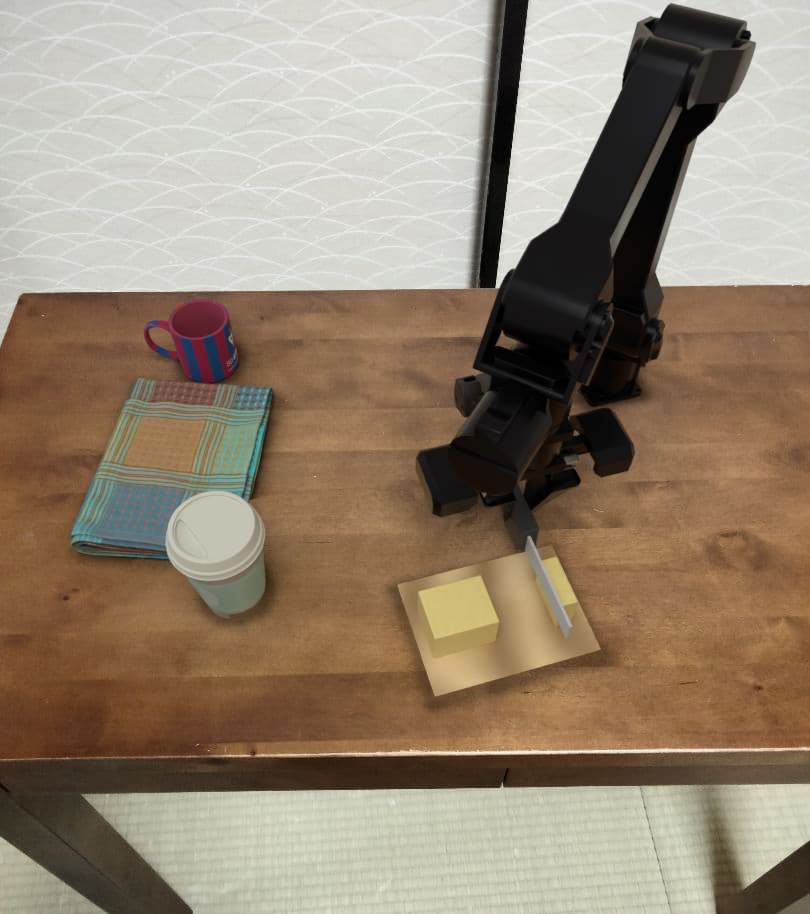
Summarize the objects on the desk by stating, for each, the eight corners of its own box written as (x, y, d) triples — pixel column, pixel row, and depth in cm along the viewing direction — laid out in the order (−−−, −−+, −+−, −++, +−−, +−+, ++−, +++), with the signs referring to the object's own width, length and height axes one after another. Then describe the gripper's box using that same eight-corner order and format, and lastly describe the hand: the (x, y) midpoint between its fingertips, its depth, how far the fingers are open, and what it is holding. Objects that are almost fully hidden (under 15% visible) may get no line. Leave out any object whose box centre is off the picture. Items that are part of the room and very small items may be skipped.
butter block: (477, 596, 78) (480, 574, 74) (495, 641, 75) (499, 621, 72) (417, 612, 77) (417, 591, 73) (433, 659, 74) (434, 639, 71)
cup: (231, 386, 95) (220, 342, 89) (148, 379, 95) (131, 334, 90) (244, 346, 98) (234, 301, 93) (164, 339, 99) (149, 294, 93)
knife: (509, 491, 82) (513, 472, 79) (577, 635, 73) (583, 619, 70) (491, 495, 82) (493, 477, 79) (556, 641, 72) (561, 625, 70)
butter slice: (550, 578, 79) (556, 556, 75) (570, 622, 76) (578, 601, 73) (534, 582, 78) (540, 560, 75) (554, 627, 76) (561, 606, 72)
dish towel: (69, 556, 82) (60, 542, 80) (133, 386, 95) (127, 370, 93) (237, 569, 81) (232, 556, 79) (279, 396, 94) (276, 380, 92)
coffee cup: (194, 559, 82) (164, 489, 71) (279, 552, 82) (261, 481, 72) (190, 636, 77) (156, 573, 67) (280, 629, 77) (261, 565, 67)
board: (549, 552, 82) (551, 544, 81) (598, 656, 76) (601, 649, 74) (397, 592, 80) (396, 584, 78) (434, 703, 73) (434, 696, 72)
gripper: (600, 315, 72) (571, 432, 85) (396, 359, 69) (398, 473, 82) (657, 406, 66) (616, 517, 79) (437, 458, 63) (432, 564, 76)
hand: (514, 514), depth 79 cm, fingers closed on knife, 2 cm apart
